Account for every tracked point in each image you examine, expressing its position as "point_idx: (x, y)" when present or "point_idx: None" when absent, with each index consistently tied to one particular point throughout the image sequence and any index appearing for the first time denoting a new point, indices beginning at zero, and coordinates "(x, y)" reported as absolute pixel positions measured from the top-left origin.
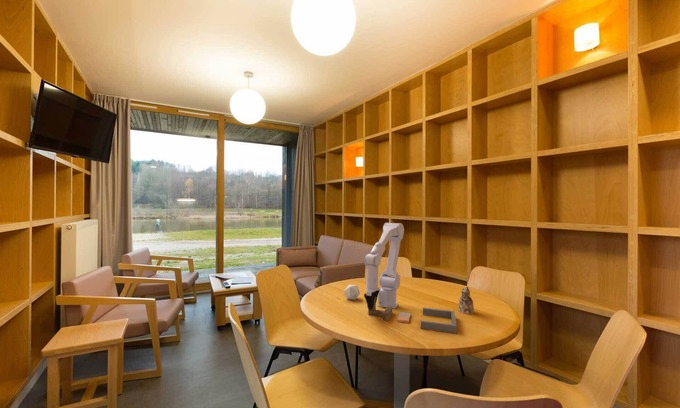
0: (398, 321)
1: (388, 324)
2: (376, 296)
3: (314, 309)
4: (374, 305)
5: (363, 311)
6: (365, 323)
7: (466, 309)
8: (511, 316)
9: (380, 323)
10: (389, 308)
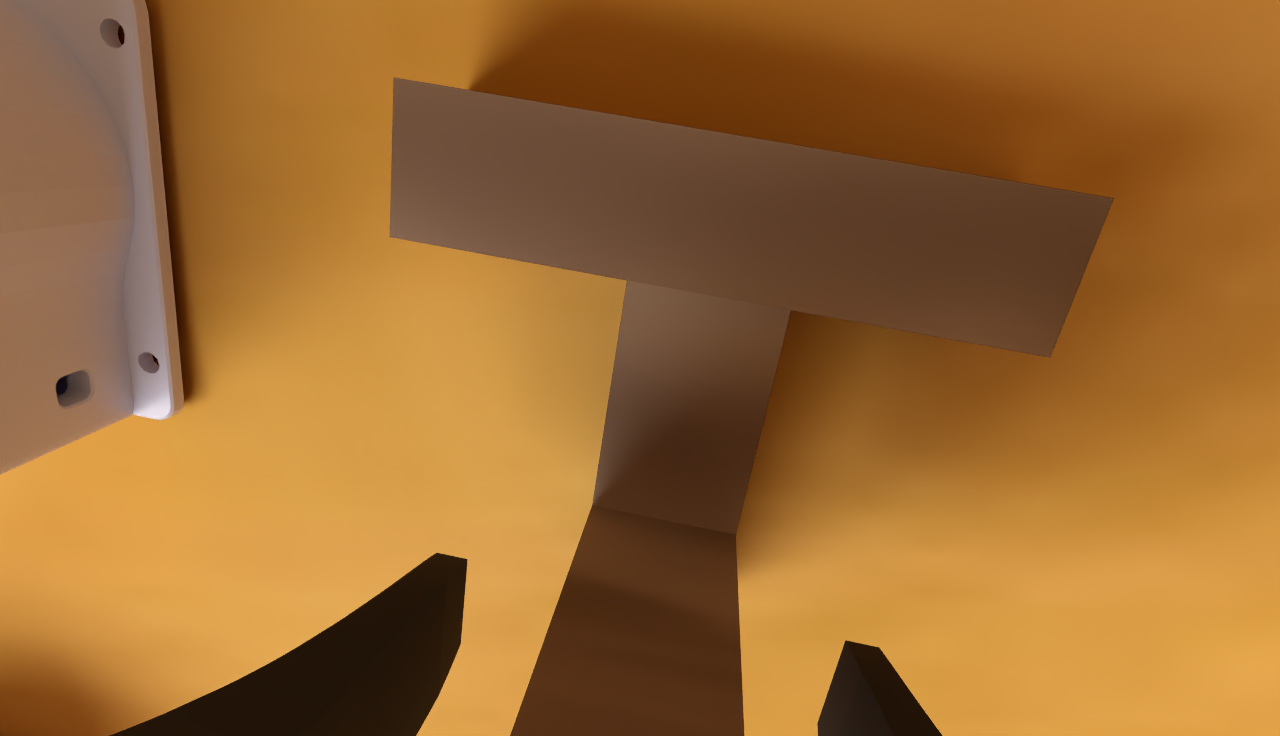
0: None
1: (1262, 191)
2: (331, 723)
3: None
4: (735, 638)
5: None
6: (1161, 643)
7: None
8: None
9: (1181, 373)
10: (568, 168)
